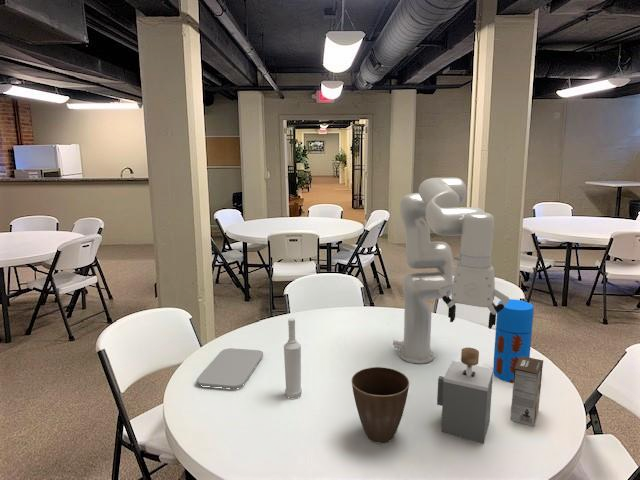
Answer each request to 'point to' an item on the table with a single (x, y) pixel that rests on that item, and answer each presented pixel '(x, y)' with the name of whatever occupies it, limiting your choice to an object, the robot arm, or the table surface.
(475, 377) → the block
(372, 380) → the plant pot
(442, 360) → the table surface
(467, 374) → the plunger
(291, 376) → the bottle
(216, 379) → the tablet
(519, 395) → the coffee box
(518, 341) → the thermos
